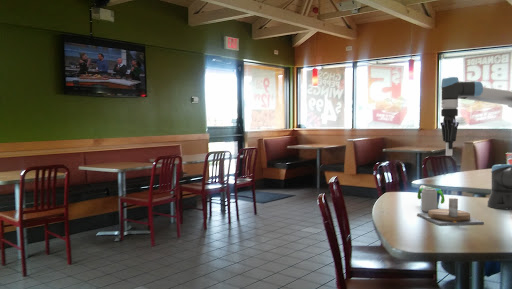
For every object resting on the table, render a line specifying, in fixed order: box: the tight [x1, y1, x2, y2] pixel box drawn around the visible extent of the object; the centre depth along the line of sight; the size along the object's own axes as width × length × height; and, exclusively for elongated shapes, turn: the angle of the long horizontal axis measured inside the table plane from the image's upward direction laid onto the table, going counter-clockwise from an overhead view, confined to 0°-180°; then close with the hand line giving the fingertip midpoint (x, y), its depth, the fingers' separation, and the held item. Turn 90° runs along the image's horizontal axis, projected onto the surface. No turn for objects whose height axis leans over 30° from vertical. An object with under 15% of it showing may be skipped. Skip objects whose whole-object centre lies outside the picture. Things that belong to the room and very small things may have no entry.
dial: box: [427, 197, 471, 221], centre depth 198 cm, size 19×18×10 cm
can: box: [420, 187, 438, 213], centre depth 218 cm, size 8×8×12 cm
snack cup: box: [417, 186, 446, 208], centre depth 228 cm, size 16×10×10 cm
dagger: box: [419, 184, 433, 190], centre depth 256 cm, size 8×6×28 cm
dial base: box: [416, 212, 485, 226], centre depth 199 cm, size 21×21×1 cm
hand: (449, 155), depth 211 cm, fingers closed
